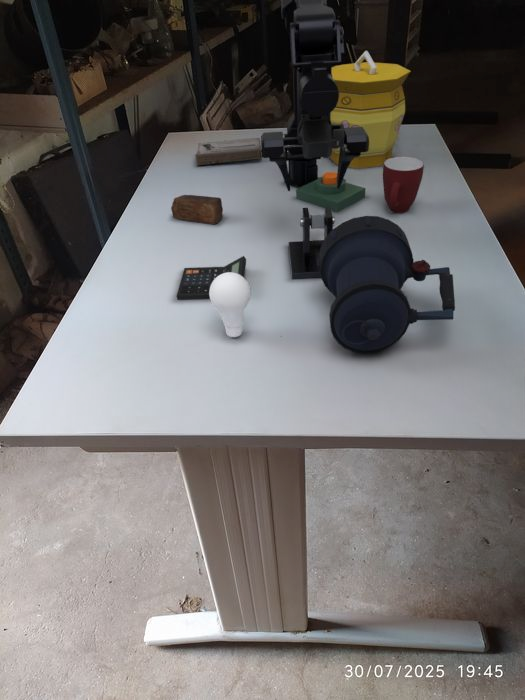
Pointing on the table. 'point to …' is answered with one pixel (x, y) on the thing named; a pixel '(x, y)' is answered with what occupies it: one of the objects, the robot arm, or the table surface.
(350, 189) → the button block
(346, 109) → the container
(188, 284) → the calculator
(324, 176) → the button
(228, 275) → the lightbulb
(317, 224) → the lever
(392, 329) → the flashlight
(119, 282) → the table surface
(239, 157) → the box
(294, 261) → the bracket
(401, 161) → the mug
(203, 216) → the brick
